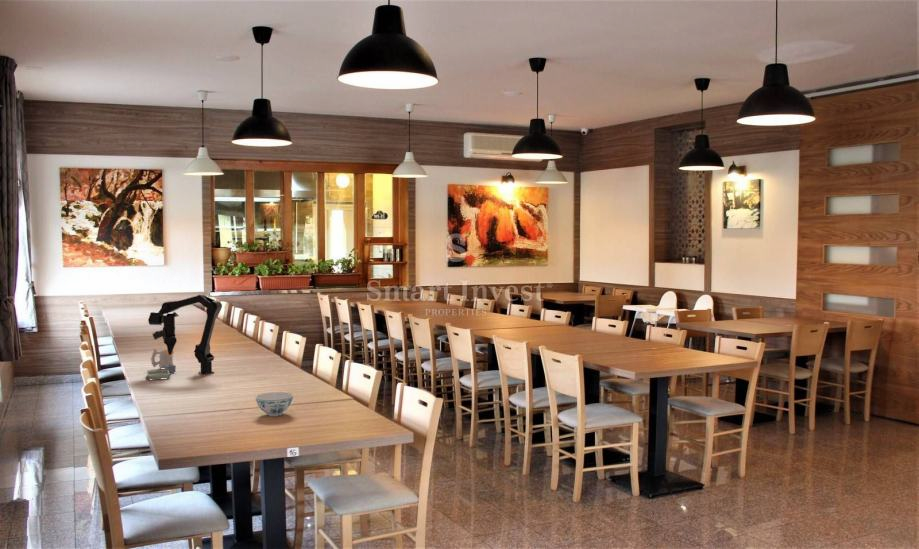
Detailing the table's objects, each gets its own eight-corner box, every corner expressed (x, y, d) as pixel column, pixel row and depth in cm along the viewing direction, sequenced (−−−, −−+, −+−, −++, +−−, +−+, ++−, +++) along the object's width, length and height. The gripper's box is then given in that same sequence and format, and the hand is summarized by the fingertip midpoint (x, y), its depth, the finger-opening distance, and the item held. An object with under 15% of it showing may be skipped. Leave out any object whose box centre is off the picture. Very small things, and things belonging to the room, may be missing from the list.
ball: (175, 355, 421) (174, 348, 421) (167, 356, 418) (167, 348, 418) (171, 354, 424) (171, 347, 424) (164, 355, 421) (164, 348, 421)
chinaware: (296, 410, 328) (296, 391, 328) (289, 418, 313) (289, 399, 313) (260, 410, 328) (259, 392, 327) (251, 418, 313) (251, 399, 312)
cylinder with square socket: (177, 372, 421) (177, 365, 421) (167, 374, 418) (167, 366, 417) (173, 371, 425) (172, 364, 425) (163, 372, 421) (163, 365, 421)
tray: (169, 379, 403) (169, 374, 403) (147, 380, 399) (147, 375, 399) (168, 374, 416) (168, 370, 416) (147, 376, 412) (146, 371, 412)
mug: (175, 368, 435) (174, 347, 435) (152, 370, 429) (151, 348, 429) (172, 366, 442) (171, 345, 441) (150, 368, 436) (149, 347, 435)
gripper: (152, 324, 426) (153, 352, 426) (153, 327, 408) (154, 357, 409) (174, 323, 430) (174, 351, 431) (176, 326, 413) (176, 356, 414)
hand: (169, 354), depth 421 cm, fingers closed on ball, 4 cm apart
